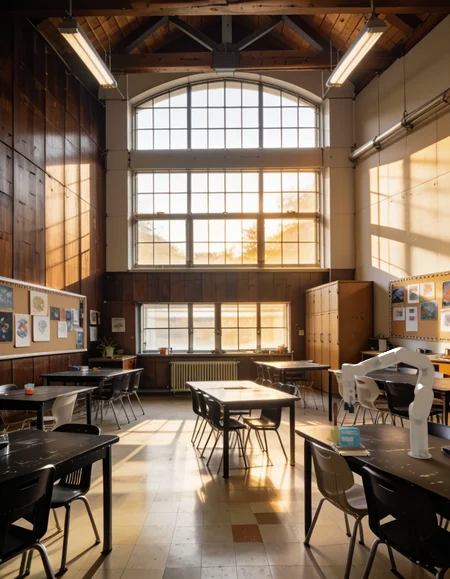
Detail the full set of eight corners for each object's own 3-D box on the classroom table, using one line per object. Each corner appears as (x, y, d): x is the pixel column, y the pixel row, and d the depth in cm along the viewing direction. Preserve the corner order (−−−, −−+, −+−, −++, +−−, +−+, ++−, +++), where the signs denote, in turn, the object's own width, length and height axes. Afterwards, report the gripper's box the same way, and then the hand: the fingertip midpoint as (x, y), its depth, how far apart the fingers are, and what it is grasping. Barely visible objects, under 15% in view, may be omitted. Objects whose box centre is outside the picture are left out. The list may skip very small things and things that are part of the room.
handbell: (346, 442, 289) (345, 403, 291) (327, 441, 290) (327, 403, 292) (343, 437, 301) (343, 400, 303) (325, 437, 302) (324, 400, 305)
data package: (340, 448, 267) (340, 428, 268) (338, 446, 271) (338, 427, 272) (360, 449, 266) (359, 428, 268) (358, 447, 271) (357, 427, 272)
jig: (370, 455, 258) (370, 450, 258) (339, 455, 258) (339, 450, 258) (358, 445, 280) (357, 440, 280) (330, 445, 279) (330, 440, 280)
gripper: (358, 385, 264) (359, 414, 262) (350, 382, 281) (350, 409, 280) (346, 385, 264) (347, 414, 262) (338, 382, 281) (339, 409, 279)
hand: (349, 411), depth 271 cm, fingers open, 9 cm apart
